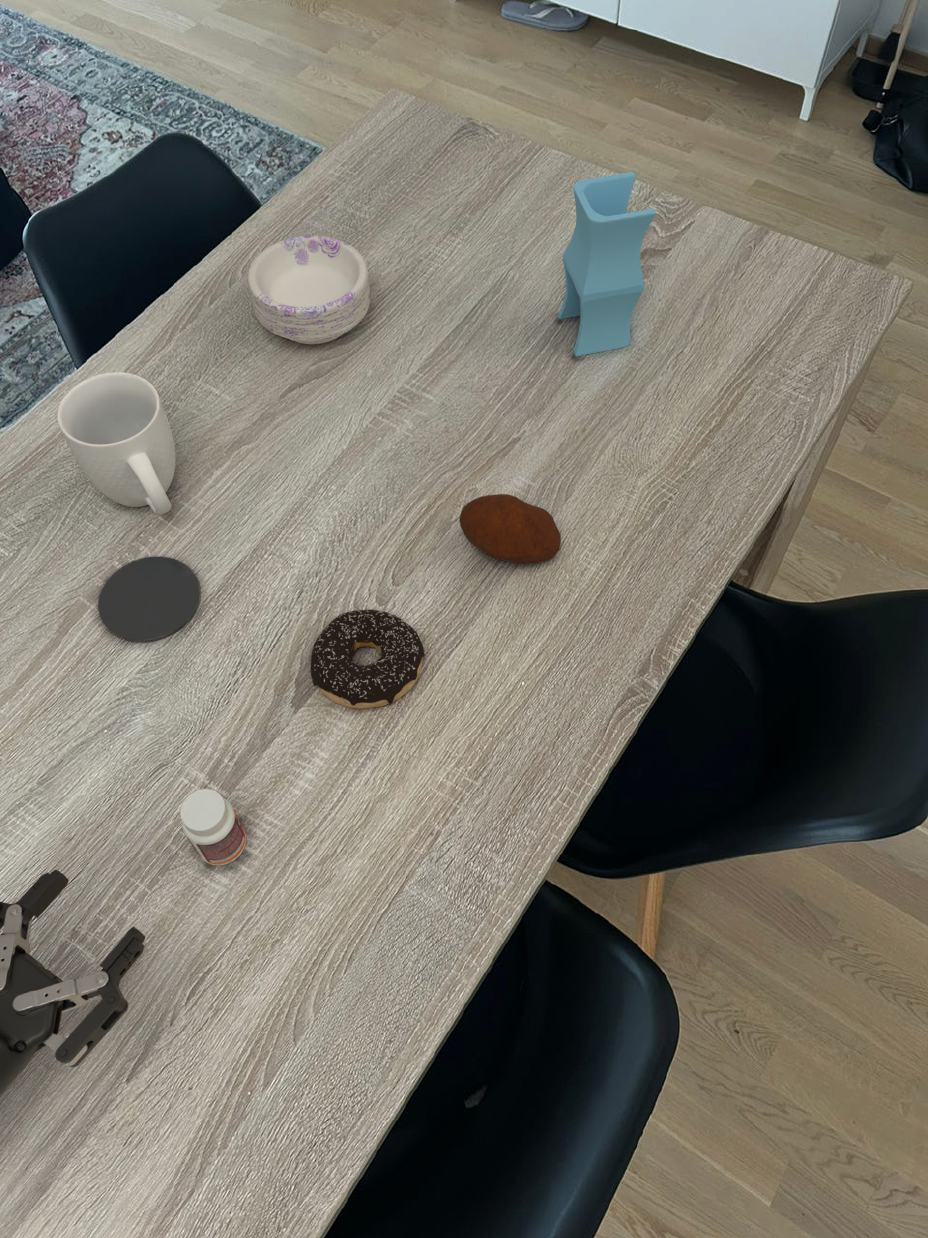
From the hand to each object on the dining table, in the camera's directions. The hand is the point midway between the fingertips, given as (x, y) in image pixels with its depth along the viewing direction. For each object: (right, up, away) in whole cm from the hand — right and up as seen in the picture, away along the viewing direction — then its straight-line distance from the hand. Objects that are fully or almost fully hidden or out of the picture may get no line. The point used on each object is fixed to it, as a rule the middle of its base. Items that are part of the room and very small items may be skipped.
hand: (101, 903), depth 84 cm
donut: (+19, +18, +26) cm, 37 cm away
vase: (+47, +61, +52) cm, 93 cm away
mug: (-8, +38, +38) cm, 54 cm away
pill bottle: (+6, +2, +15) cm, 17 cm away
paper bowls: (+10, +62, +54) cm, 83 cm away
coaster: (-5, +25, +30) cm, 39 cm away
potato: (+34, +31, +34) cm, 57 cm away
